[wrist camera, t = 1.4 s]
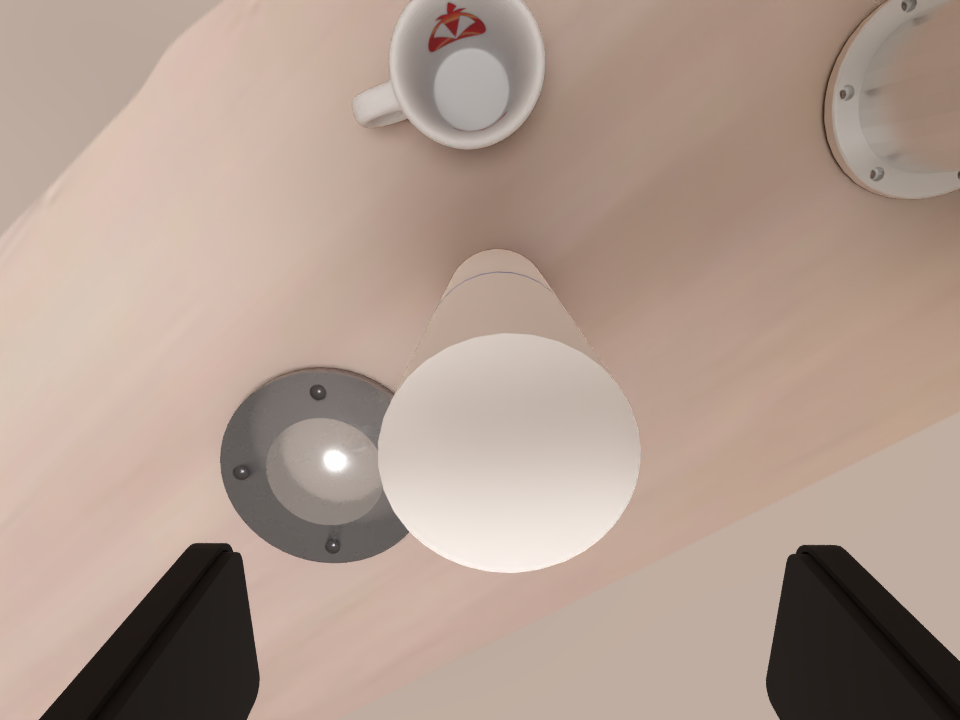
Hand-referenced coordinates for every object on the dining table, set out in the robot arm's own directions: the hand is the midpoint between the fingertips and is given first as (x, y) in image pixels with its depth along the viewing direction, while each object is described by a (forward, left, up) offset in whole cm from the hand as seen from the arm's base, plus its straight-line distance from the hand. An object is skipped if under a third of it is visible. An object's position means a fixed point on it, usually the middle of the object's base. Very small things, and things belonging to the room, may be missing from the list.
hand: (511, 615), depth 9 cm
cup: (+3, -13, -31) cm, 34 cm away
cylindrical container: (0, 0, -31) cm, 31 cm away
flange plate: (+13, +13, -31) cm, 36 cm away
